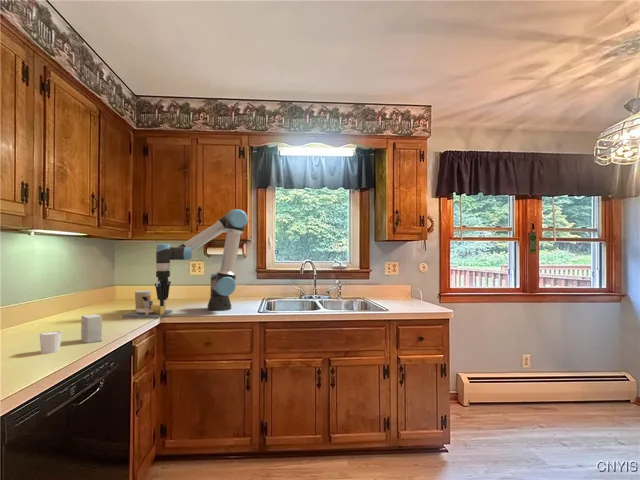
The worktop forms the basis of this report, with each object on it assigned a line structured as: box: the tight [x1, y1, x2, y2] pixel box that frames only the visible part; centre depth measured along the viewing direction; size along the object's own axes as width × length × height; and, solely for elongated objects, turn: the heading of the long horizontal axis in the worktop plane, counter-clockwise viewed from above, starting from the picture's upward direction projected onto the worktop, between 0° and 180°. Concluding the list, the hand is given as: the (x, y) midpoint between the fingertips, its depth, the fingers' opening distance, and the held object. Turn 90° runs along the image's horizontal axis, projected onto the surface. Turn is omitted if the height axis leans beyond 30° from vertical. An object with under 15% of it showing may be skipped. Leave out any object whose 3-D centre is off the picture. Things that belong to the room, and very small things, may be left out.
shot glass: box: [39, 330, 63, 355], centre depth 142 cm, size 7×7×7 cm
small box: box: [80, 313, 103, 344], centre depth 159 cm, size 8×6×10 cm
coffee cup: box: [134, 290, 152, 310], centre depth 235 cm, size 9×9×12 cm
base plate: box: [122, 308, 173, 319], centre depth 219 cm, size 20×20×6 cm
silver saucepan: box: [135, 300, 164, 315], centre depth 217 cm, size 20×13×6 cm, turn 58°
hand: (162, 311), depth 216 cm, fingers closed
